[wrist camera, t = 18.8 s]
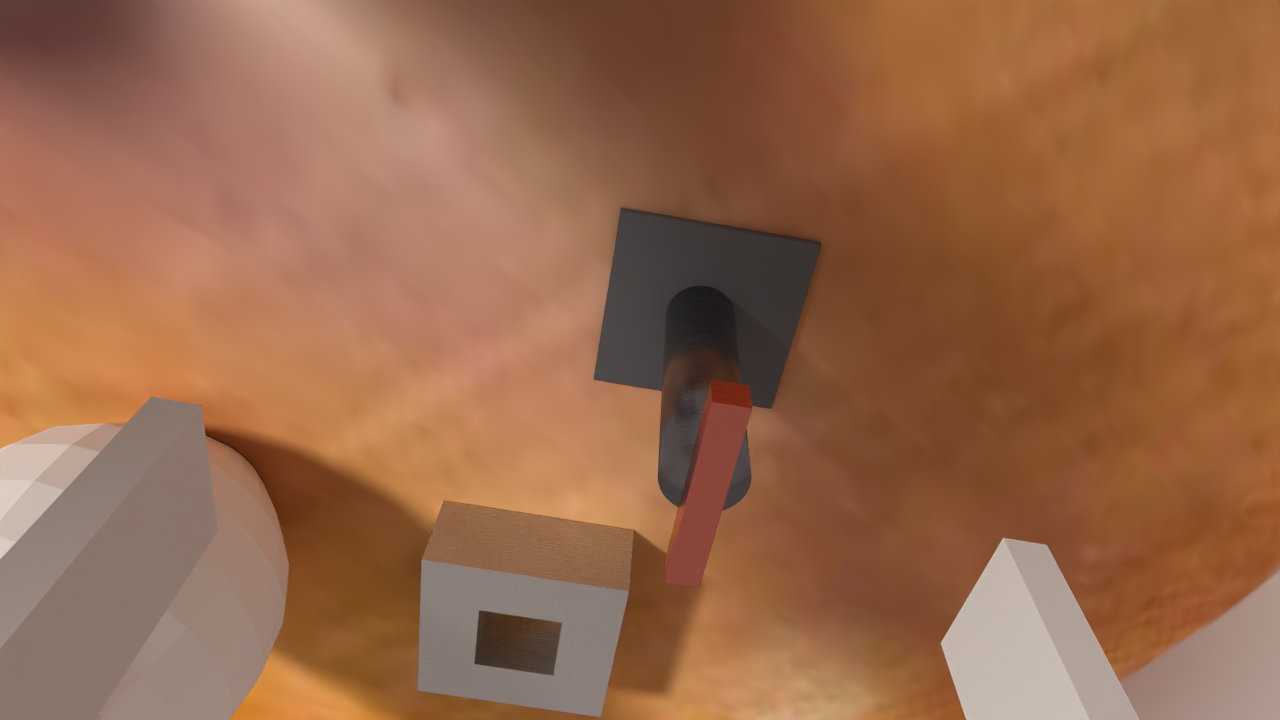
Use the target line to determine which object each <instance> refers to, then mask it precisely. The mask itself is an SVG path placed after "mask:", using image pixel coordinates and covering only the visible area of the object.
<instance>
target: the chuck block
mask: <svg viewBox="0 0 1280 720" xmlns="http://www.w3.org/2000/svg"><path fill="white" fill-rule="evenodd" d="M633 537H634V530H628V529H622V528H615V527H609V526H603V525H596V524H590V523H583V522H577V521H571V520H564V519H558V518H551V517H545V516H539V515H532V514H526V513H520V512H513V511H507V510H500V509H494V508H488V507H481V506H475V505H468V504H462V503H456V502H449V501H443V504H442V506H441V509H440V512H439V514H438V517H437V520H436V522H435V525H434V528H433V530H432V533H431V536H430V538H429V541H428V544H427V546H426V549H425V552H424V554H423V557H422V560H421V593H420V625H419V658H418V690H417V691H423V692H430V693H437V694H444V695H451V696H458V697H464V698H471V699H478V700H485V701H492V702H499V703H506V704H512V705H519V706H526V707H533V708H540V709H547V710H554V711H560V712H567V713H574V714H581V715H588V716H595V717H601V714H602V709H603V705H604V701H605V696H606V692H607V687H608V683H609V678H610V674H611V670H612V665H613V661H614V656H615V652H616V648H617V643H618V639H619V634H620V630H621V625H622V621H623V617H624V612H625V608H626V603H627V599H628V595H629V588H630V575H631V562H632V550H633Z"/></svg>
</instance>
